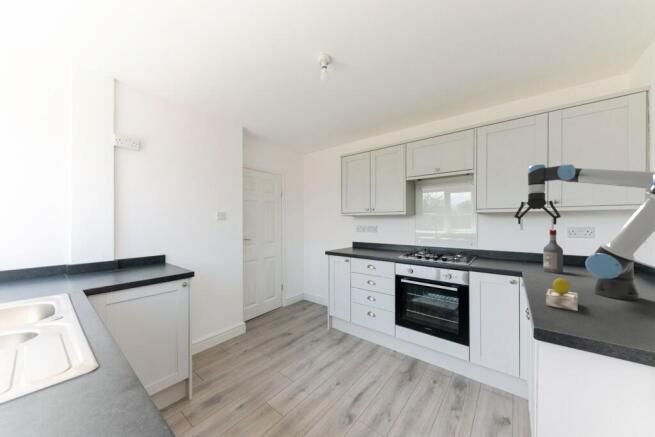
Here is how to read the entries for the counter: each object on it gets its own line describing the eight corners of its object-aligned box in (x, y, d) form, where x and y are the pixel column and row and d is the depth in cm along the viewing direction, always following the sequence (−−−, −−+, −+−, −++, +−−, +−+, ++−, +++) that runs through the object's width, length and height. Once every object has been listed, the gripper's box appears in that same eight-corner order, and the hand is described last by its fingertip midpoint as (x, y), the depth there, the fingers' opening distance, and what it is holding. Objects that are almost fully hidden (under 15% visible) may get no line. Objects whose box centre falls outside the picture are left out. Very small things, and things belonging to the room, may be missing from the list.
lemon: (552, 292, 118) (552, 275, 118) (569, 295, 115) (569, 277, 115) (553, 295, 114) (553, 277, 114) (570, 298, 110) (570, 279, 110)
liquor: (554, 273, 177) (554, 230, 177) (541, 270, 186) (541, 229, 186) (565, 272, 179) (565, 230, 179) (551, 270, 188) (551, 229, 188)
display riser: (577, 303, 115) (577, 293, 115) (577, 310, 106) (577, 299, 106) (548, 298, 122) (548, 288, 122) (546, 305, 113) (546, 294, 113)
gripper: (566, 191, 138) (567, 230, 138) (510, 194, 156) (510, 229, 156) (566, 190, 133) (566, 231, 133) (508, 193, 150) (508, 229, 150)
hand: (536, 230), depth 144 cm, fingers open, 13 cm apart
